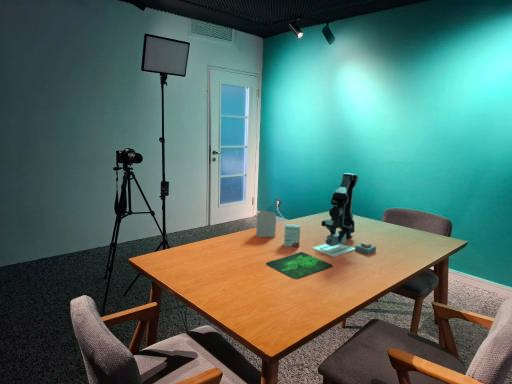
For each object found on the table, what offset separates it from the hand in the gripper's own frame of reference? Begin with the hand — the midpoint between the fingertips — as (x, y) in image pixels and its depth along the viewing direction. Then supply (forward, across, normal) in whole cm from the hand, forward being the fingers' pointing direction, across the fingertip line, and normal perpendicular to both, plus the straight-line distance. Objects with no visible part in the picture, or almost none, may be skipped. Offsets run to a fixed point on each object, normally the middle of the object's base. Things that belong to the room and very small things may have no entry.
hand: (336, 241), depth 192 cm
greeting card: (+5, -38, -20) cm, 43 cm away
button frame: (+4, +12, +11) cm, 17 cm away
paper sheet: (+4, 0, -1) cm, 5 cm away
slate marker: (+1, 0, 0) cm, 1 cm away
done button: (+3, +12, +11) cm, 16 cm away
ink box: (+5, -18, -17) cm, 25 cm away
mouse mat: (+5, +4, -34) cm, 35 cm away
